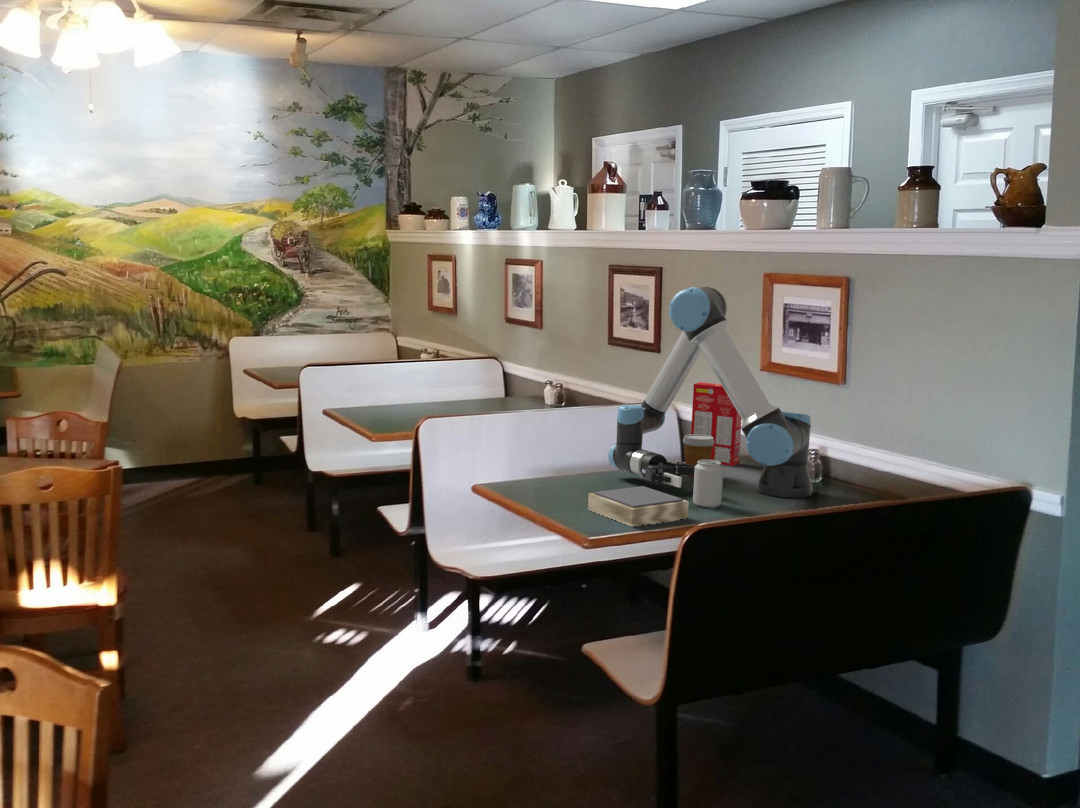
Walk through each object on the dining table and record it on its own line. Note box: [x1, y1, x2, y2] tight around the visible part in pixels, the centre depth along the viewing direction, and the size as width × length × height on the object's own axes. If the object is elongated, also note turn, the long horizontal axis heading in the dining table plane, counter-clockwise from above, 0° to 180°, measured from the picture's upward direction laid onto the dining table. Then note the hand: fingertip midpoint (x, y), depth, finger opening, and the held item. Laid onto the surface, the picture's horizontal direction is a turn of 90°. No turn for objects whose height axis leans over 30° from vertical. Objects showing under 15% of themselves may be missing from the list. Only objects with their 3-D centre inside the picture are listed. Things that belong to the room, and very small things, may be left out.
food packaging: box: [690, 381, 742, 467], centre depth 336 cm, size 15×5×25 cm, turn 61°
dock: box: [587, 485, 690, 528], centre depth 266 cm, size 18×18×5 cm
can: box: [692, 460, 724, 508], centre depth 278 cm, size 8×8×12 cm
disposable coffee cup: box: [682, 433, 715, 478], centre depth 314 cm, size 10×10×12 cm
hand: (699, 480), depth 280 cm, fingers open, 13 cm apart
